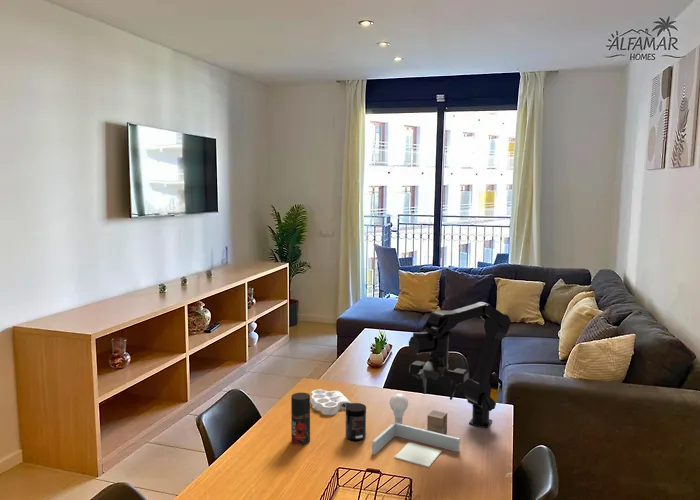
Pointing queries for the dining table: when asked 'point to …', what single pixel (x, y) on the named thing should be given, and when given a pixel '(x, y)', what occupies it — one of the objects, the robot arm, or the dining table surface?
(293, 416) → the deodorant
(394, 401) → the lightbulb
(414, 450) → the plate
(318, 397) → the white egg tray
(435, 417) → the walnut block
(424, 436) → the plastic wall
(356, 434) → the supplement container
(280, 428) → the dining table surface
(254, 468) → the dining table surface
